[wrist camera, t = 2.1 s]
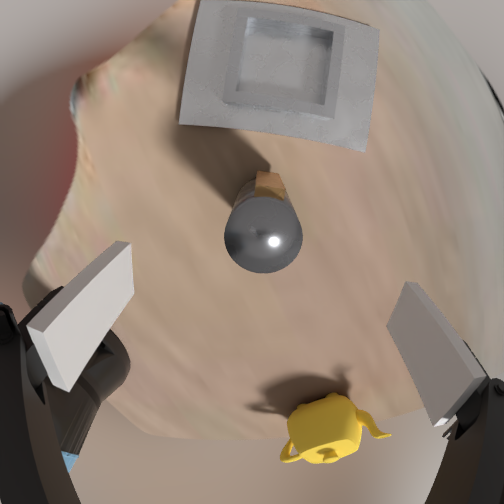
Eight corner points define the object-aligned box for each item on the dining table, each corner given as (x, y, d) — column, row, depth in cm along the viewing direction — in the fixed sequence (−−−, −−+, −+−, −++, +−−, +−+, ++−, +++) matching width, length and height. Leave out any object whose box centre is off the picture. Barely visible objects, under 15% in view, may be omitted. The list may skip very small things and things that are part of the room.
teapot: (367, 369, 37) (386, 425, 27) (381, 400, 41) (397, 447, 31) (264, 409, 41) (264, 463, 31) (292, 433, 45) (295, 480, 35)
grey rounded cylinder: (234, 223, 29) (220, 267, 20) (241, 167, 26) (230, 183, 17) (284, 231, 29) (294, 277, 20) (294, 174, 26) (311, 196, 17)
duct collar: (181, 124, 25) (170, 123, 21) (202, 4, 19) (195, -10, 16) (361, 151, 25) (374, 154, 22) (376, 32, 20) (389, 22, 16)
